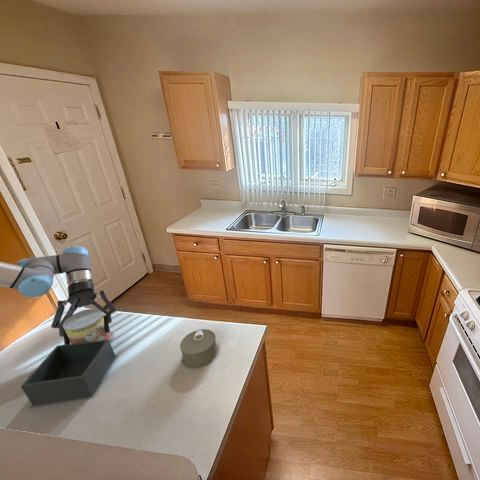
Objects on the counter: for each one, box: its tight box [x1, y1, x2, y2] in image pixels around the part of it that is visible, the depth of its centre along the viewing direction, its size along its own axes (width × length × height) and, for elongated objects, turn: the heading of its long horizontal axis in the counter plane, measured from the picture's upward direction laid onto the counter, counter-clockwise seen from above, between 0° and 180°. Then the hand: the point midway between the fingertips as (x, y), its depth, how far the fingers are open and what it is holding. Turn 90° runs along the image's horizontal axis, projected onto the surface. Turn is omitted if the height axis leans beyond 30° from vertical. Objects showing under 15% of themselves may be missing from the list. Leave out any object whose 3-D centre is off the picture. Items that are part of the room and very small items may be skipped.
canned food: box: [62, 308, 112, 344], centre depth 97 cm, size 11×11×12 cm
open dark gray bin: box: [20, 339, 117, 406], centre depth 84 cm, size 15×15×9 cm
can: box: [179, 328, 218, 368], centre depth 95 cm, size 12×12×7 cm
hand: (88, 338), depth 96 cm, fingers closed on canned food, 11 cm apart
